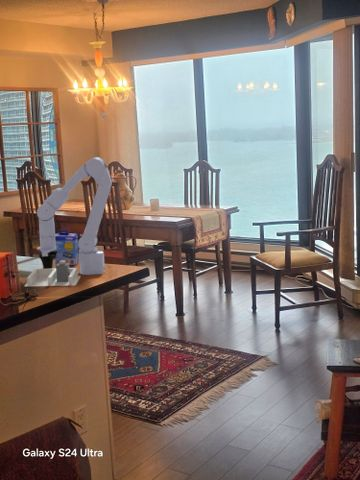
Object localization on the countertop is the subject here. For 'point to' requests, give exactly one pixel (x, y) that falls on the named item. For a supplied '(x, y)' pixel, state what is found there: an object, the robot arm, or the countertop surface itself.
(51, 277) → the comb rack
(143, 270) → the countertop surface
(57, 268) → the charcoal plug
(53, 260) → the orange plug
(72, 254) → the ink cartridge box
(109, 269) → the countertop surface
